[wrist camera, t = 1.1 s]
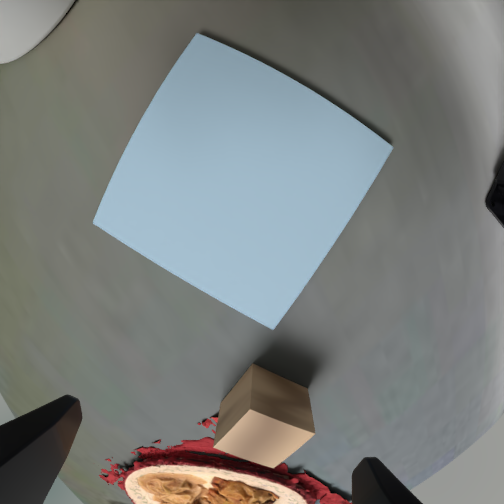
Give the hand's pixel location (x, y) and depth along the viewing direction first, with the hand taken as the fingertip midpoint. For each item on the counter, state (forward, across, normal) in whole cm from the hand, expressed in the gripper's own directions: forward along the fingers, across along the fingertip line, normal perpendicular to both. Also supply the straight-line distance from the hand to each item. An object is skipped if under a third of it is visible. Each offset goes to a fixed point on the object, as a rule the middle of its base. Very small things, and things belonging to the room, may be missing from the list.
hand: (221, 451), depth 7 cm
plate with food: (+14, -2, +29) cm, 32 cm away
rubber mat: (+13, +2, -7) cm, 15 cm away
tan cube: (+13, -4, +9) cm, 16 cm away
